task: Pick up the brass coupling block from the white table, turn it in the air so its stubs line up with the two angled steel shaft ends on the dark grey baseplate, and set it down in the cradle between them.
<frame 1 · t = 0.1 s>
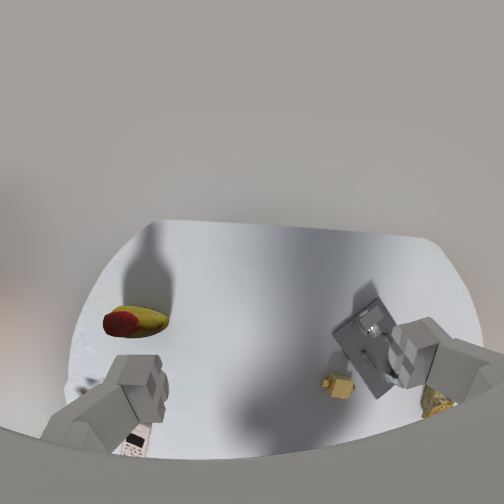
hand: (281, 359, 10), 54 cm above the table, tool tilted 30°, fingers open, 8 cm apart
coupling: (335, 382, 61), on the table
red yellow oblong piece: (148, 320, 63), on the table
rock: (433, 391, 60), on the table
mobile phone: (135, 451, 57), on the table
dark grey baseplate: (377, 350, 62), on the table
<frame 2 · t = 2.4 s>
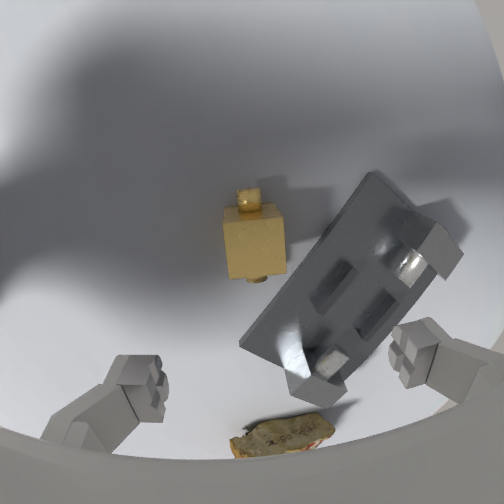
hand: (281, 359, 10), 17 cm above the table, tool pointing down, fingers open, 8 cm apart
coupling: (251, 228, 26), on the table
rock: (281, 430, 35), on the table
dark grey baseplate: (351, 296, 28), on the table
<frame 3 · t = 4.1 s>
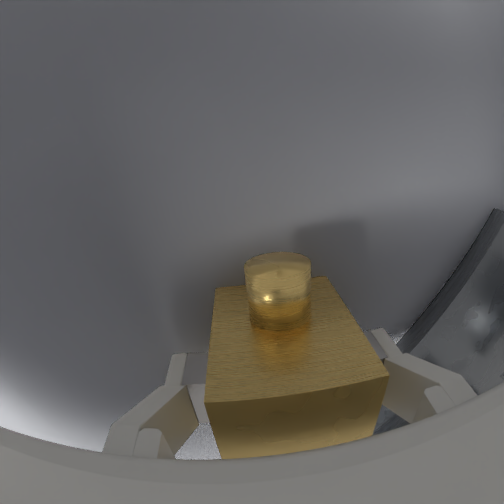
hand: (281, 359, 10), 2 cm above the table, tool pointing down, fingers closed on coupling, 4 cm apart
coupling: (274, 328, 11), on the table, touching gripper
dark grey baseplate: (428, 404, 14), on the table
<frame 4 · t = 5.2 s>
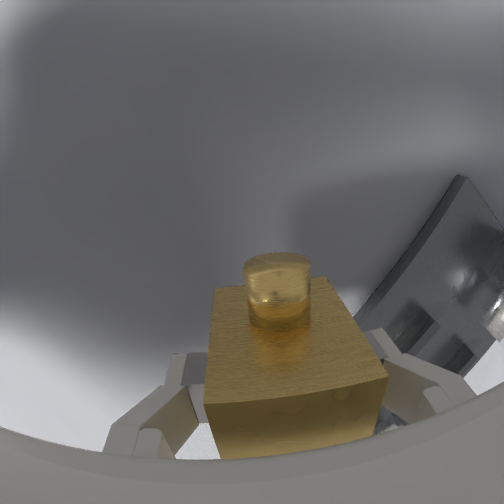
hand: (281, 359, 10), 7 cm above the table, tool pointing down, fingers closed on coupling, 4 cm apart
coupling: (274, 328, 11), point 5 cm above the table, touching gripper
dark grey baseplate: (418, 349, 18), on the table
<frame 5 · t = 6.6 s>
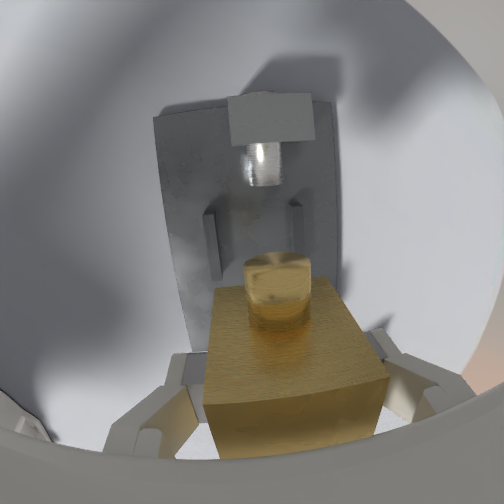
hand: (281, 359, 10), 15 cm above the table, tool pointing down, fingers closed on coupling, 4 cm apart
coupling: (274, 328, 11), point 13 cm above the table, touching gripper
dark grey baseplate: (253, 235, 24), on the table
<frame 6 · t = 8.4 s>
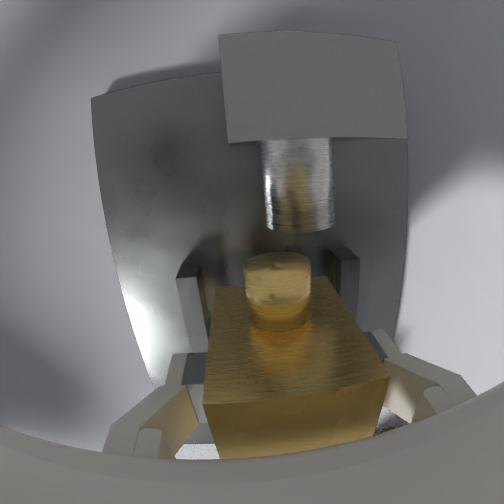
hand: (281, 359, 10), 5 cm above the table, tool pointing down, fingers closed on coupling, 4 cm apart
coupling: (274, 328, 11), point 3 cm above the table, touching gripper
dark grey baseplate: (267, 298, 14), on the table
when the fingers open (4 cm above the table, at t = 8.9 s): coupling drops 1 cm, resting on dark grey baseplate.
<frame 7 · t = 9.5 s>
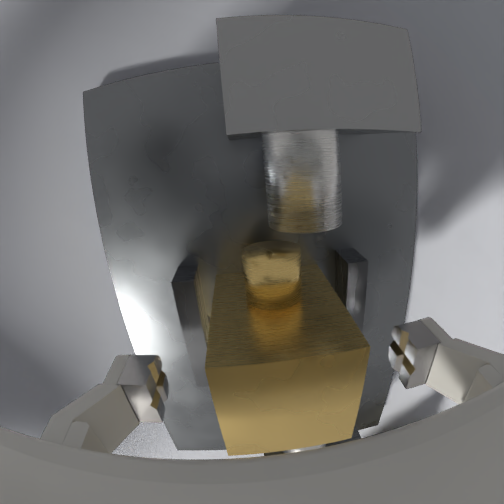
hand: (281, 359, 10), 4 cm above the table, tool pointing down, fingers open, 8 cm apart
coupling: (270, 313, 13), point 1 cm above the table, touching dark grey baseplate
dark grey baseplate: (269, 301, 13), on the table
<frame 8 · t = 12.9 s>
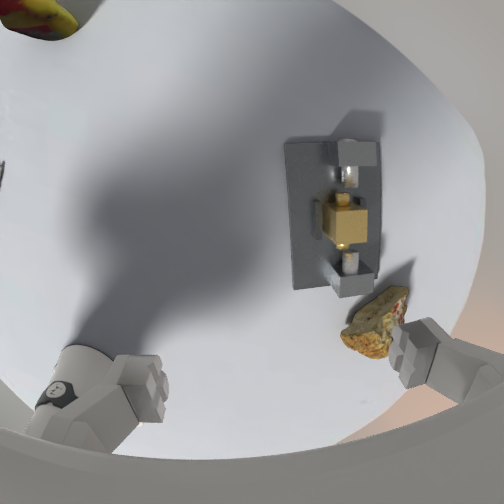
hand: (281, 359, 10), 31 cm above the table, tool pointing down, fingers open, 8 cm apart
coupling: (337, 216, 39), point 1 cm above the table, touching dark grey baseplate
red yellow oblong piece: (57, 27, 28), on the table
rock: (374, 314, 46), on the table
dark grey baseplate: (335, 215, 40), on the table
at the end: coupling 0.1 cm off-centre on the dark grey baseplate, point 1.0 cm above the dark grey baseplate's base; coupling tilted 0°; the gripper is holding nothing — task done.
